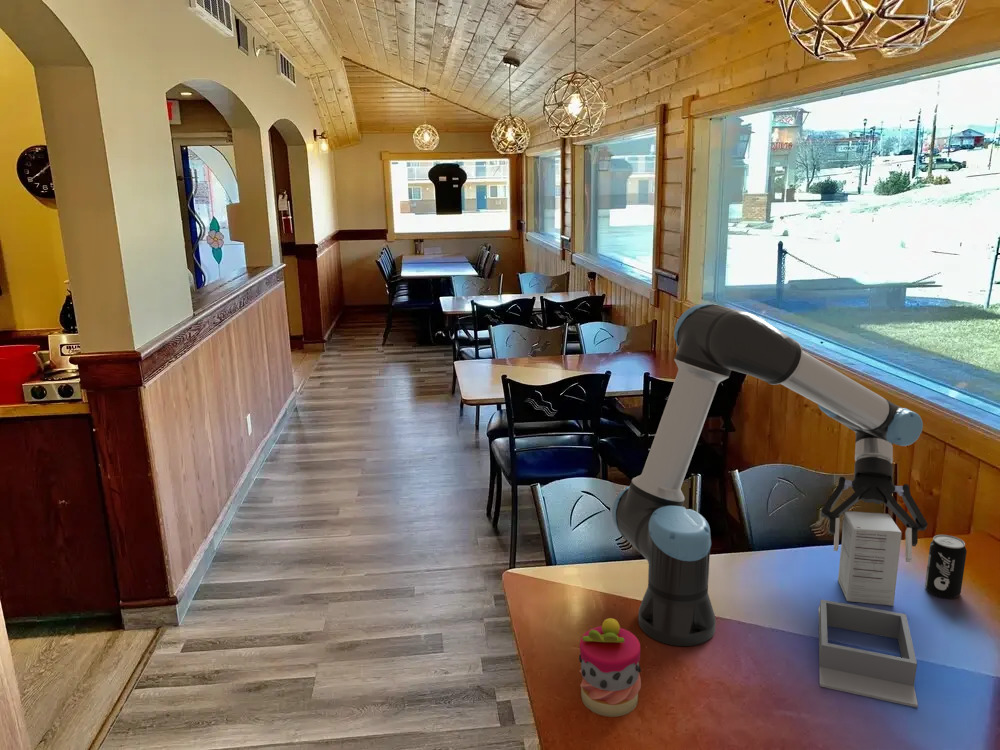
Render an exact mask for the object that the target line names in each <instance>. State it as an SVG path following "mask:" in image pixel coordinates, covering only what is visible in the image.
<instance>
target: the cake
mask: <svg viewBox="0 0 1000 750" xmlns="http://www.w3.org/2000/svg"><path fill="white" fill-rule="evenodd" d="M579 651H580V654H579V655H578V660H579V661H578V662H579V663H580V669H579V671H578V672H579V673H580V675H581V677H582V679H581V683H580V685H579V686H580V697H581V701H582V703H583V705H584V706H585V708H587V709H588V710H590V711H591V713H594V714H597V715H599V716H602V717H609V718H614V717H615V718H616V717H622V716H625V715H628V714H630V713H631V712H633V711H634V710H635V709H636V707H637V705H638V700H639V693H640V690H641V688H642V682H641V681H642V678H641V676H640V673H641V672H642V668H641V666H640V663H639V662H640V660H641V643H640V641H639V639H638V638H637V636H636V635H635V634H634V633H632V632H631V631H630V630H628V629H625V628H622V627H621V626H620V623H619V622H618V620H617V619H615V618H612V617H609V618H606V619H604V620H603V621H602V625H601V626H596V627H595V626H594V627H593V628H589V630H586V631H585V632H584V634H583V635H582V636H581V637H580V640H579Z"/></svg>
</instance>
